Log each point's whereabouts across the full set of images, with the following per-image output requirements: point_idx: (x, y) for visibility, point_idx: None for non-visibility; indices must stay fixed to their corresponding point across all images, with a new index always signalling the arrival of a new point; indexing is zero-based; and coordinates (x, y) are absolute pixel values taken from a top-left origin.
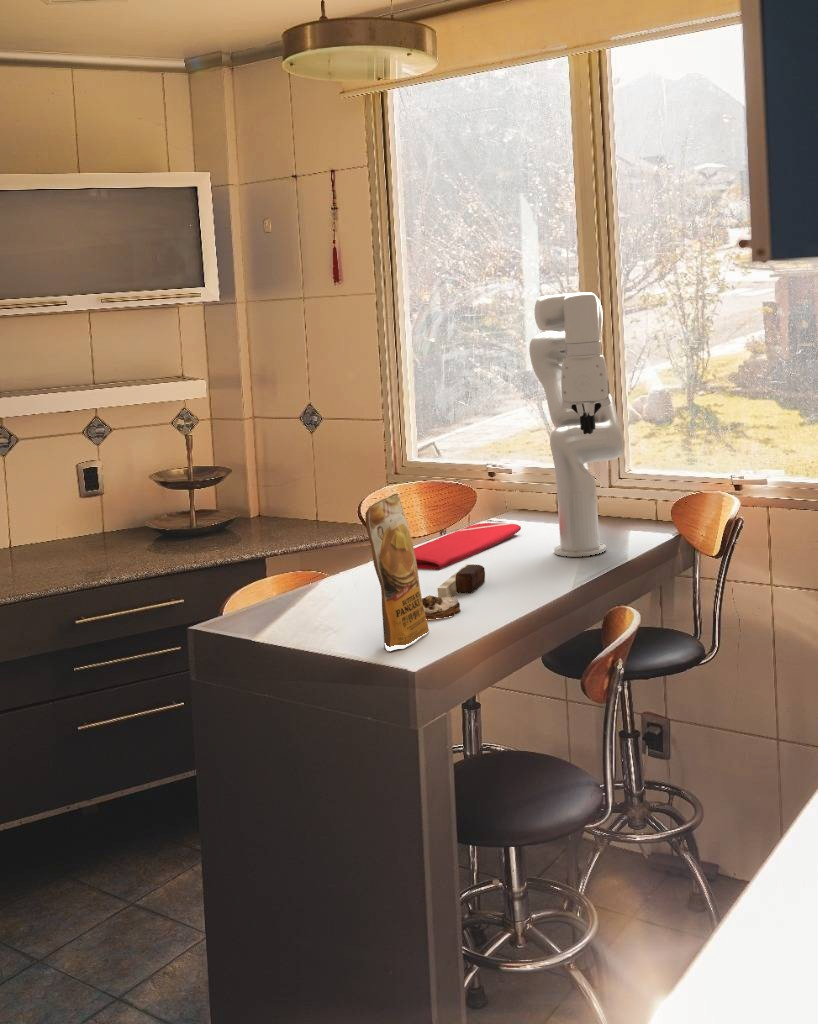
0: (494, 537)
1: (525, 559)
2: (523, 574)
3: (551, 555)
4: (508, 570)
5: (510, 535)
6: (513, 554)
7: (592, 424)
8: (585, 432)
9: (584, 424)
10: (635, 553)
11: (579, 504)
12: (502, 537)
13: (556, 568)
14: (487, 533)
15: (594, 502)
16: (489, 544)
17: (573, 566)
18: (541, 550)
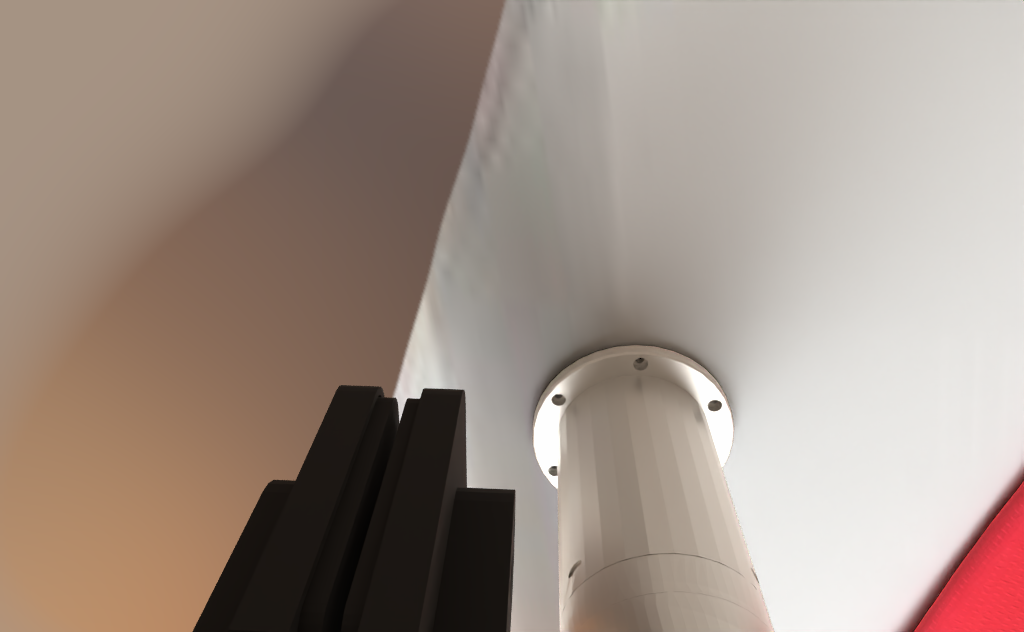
0: (988, 569)
1: (846, 333)
2: (849, 62)
3: (741, 387)
4: (921, 144)
5: (916, 629)
6: (898, 415)
7: (269, 530)
8: (423, 391)
9: (410, 493)
10: (414, 390)
11: (634, 508)
12: (950, 591)
13: (702, 169)
14: (1020, 602)
15: (565, 552)
16: (1004, 514)
17: (631, 200)
18: (786, 464)
